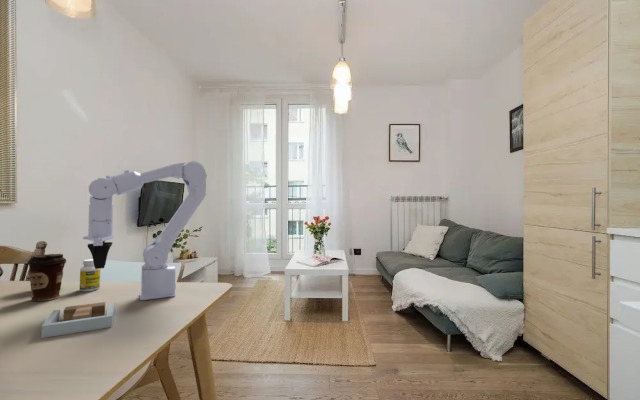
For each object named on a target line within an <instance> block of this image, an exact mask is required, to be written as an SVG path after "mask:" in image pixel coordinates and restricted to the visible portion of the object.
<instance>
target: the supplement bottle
mask: <svg viewBox="0 0 640 400" xmlns="http://www.w3.org/2000/svg"><path fill="white" fill-rule="evenodd" d="M82 265H83V266H82V267H81V268H80V271H79V291H80V292H93V291H97V290H99V289H100V287H101V269H95V267H94V262H93V258H89V259H83V260H82Z"/></svg>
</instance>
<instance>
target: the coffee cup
mask: <svg viewBox="0 0 640 400" xmlns="http://www.w3.org/2000/svg"><path fill="white" fill-rule="evenodd" d="M30 256H31V257H30V259H29V260H28V261H27V262H26V264H27V265H28V267H29V268H28V269H29V270H28V274H29V282H30V290H31V292H32V296H31V301H33V302H34V301H35V302H42V301H50V300H51V301H52V300H57V299H59V298H61V296H60V291H61V287H62V281H63V276H64V268H65V265H66V263H67V259H66V258H64V254H63V253H49V254H35V255H30ZM64 264H65V265H64Z"/></svg>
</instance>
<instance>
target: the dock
mask: <svg viewBox="0 0 640 400" xmlns="http://www.w3.org/2000/svg"><path fill="white" fill-rule="evenodd" d="M115 309H116V303H115V302H109V304H108V307H107V310H106V314H105V315H104V316H98V317H91V318H84V319H77V320H70V321H60V320H61V309H54V310H52V312H51V313H50V315H49V316H48V317H47V318H46V320H45V321H44V323H43V324H42V325H41V339H43V338H51V337H58V336H62V335H68V334H74V333H76V334H77V333H82V332H89V331H95V330H101V329H107V328H113V322H114V317H115V312H116V310H115Z"/></svg>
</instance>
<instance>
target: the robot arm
mask: <svg viewBox="0 0 640 400" xmlns="http://www.w3.org/2000/svg"><path fill="white" fill-rule="evenodd" d="M207 176H208V175H207V173H206V169H205V167H204V166H203V164H202V163H200V162H198V161H197V160H196V161H195V160H191V161H189V162H179V163H173V164H170V165H165V166H162V167H160V168H156V169H151V170H148V171H145V172H141V173H139V172H137V171H134V170H131V171H130V170H129V169H128V170H124V171H123V173H120V174H115V175H112V176H111V175H106V176H105V177H106V178H103V177H98V178H97V179H95V180H92V181H91V182H90V184H89V185H88V192H89V194H90V197H89V205H88V234H87V236H85V235H84V236H83V237H82V240H87V241H88V240H89V241H91V242H92V243H88V244H87V248H88V249H89V252H90V254H91V257H92V259H93V262H94V267H95V269H100V270H101V269H104V268H105V266H106V262H107V259H108V253H109V251H110V249H111V247H112V246H113V241H108V240H112V239H114V235H113V231H114V230H113V229H114V205H113V196H114V195H116V196H120V195H124V194H127V193H130V192H131V193H132V192H134V191H138V190H141V189H142V188H143V186H144V184H146V183H151V182H155V181H159V180H163V179H167V178H174V179H177V180H179V179H182V180H183V182H184V183H185V185H186V188H187V191H188V194H187V195H186V197H185V199H184V200H183V201H182V202H181V204H180V205H179V207H178V208H177V210H176V211H175V212H174V214H173V216H172V217H171V218H170V220H169V221H168V222H167V224H166V226H165V227H164V228H163V230H162V231H161V233H160V234H159V235H158V236H157V237H156V238H155V240H154V241H153V242H152V243H151V244H150V245H147V246H146V247H145V248H144V250H143V254H142V255H143V261H144V264H143V265H141V279H140V280H141V282H140V283H141V288H140V292H139V301H147V300H155V299H164V298H171V297H172V298H173V297H175V296H176V288H177V287H176V266H175V265H169V263H167V262H168V258H169V253H170V251H171V250H172V248H173V245H174V244H175V243H174V242H175V241H177V239H178V237H179V236H180V234H181V232H182V231H183V229H185V227H186V225H187V224H188V222H190V219H191V218H192V217H193V215H194V214H195V212H196V211H197V209H198V208H199V206H200V204H201V203H202V202H203V200H204V199H205V197H206V195H207V193H206V192H207Z"/></svg>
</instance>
